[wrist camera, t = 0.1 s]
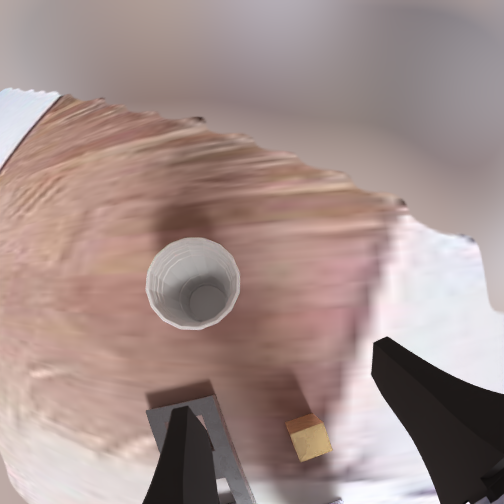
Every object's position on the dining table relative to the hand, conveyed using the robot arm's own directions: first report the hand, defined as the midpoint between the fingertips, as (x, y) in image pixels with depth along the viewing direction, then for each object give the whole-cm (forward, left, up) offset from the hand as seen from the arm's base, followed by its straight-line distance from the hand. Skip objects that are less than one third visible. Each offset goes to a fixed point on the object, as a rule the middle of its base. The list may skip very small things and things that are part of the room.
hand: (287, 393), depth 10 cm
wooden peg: (-10, -2, -32) cm, 33 cm away
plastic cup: (+12, +5, -32) cm, 35 cm away
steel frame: (-11, +13, -32) cm, 36 cm away
